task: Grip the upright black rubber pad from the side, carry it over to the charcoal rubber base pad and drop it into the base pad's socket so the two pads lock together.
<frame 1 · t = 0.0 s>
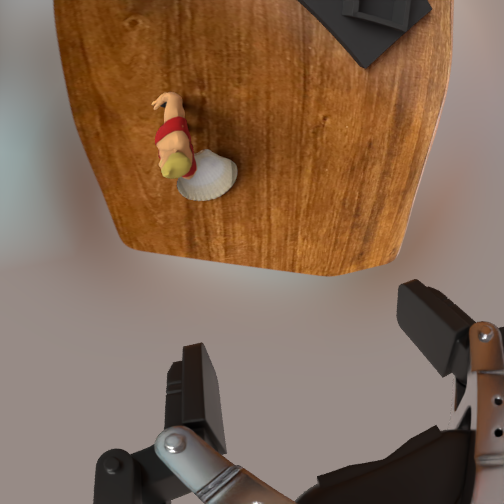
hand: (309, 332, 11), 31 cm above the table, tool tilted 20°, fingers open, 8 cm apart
action figure: (173, 116, 34), on the table
scallop shell: (205, 169, 40), on the table
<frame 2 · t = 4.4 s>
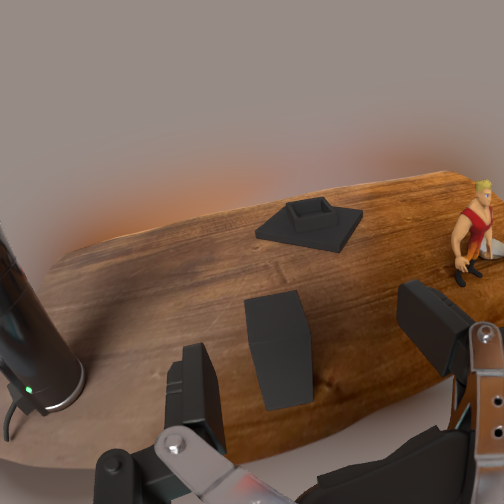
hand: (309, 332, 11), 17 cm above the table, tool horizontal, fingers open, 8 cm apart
action figure: (467, 279, 36), on the table
scallop shell: (487, 255, 39), on the table
plug pad: (285, 386, 28), on the table
socket pad: (311, 227, 56), on the table
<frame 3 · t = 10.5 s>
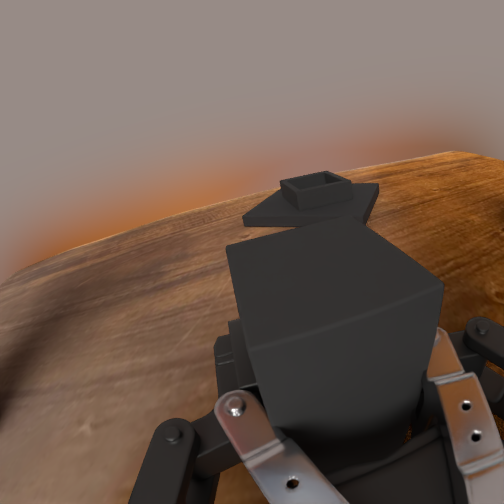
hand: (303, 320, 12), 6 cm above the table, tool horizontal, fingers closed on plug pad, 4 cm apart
plug pad: (329, 443, 12), on the table, touching gripper
socket pad: (317, 207, 42), on the table
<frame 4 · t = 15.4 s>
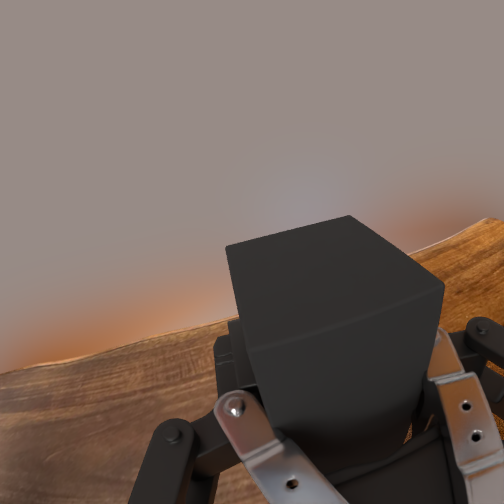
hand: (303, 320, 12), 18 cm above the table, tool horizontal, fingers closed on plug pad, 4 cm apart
plug pad: (330, 444, 12), point 12 cm above the table, touching gripper
when the fingers open (8 cm above the table, at t = 20.6 s): plug pad stays where it is, resting on socket pad.
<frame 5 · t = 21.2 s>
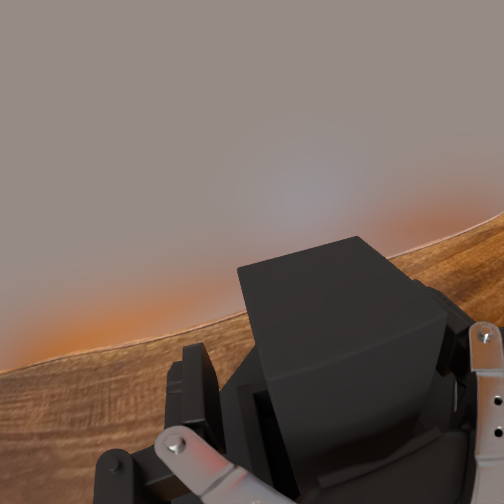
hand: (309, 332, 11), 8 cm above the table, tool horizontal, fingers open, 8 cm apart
plug pad: (335, 450, 12), point 1 cm above the table, touching socket pad
socket pad: (332, 461, 13), on the table
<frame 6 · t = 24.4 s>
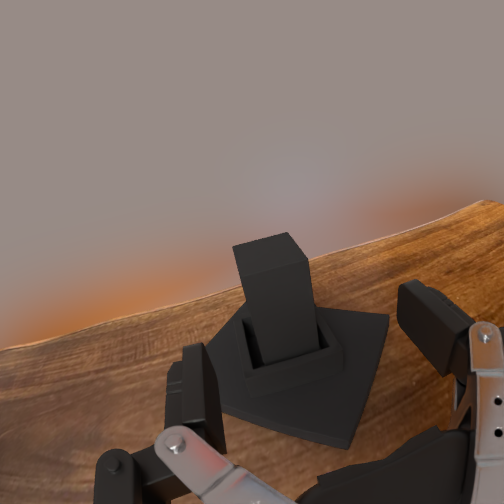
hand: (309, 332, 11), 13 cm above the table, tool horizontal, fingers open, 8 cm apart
plug pad: (287, 352, 26), point 1 cm above the table, touching socket pad
socket pad: (288, 363, 26), on the table
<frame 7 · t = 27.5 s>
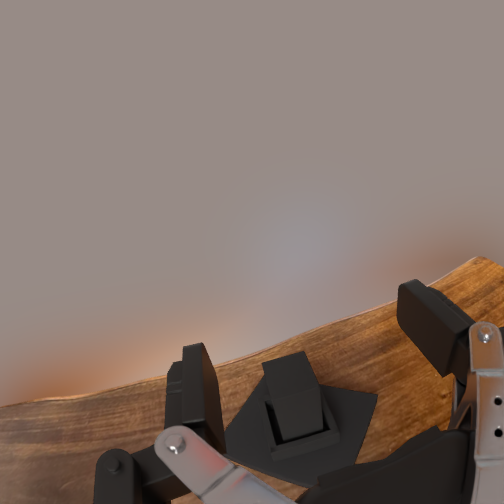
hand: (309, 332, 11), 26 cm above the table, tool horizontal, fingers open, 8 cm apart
plug pad: (299, 425, 31), point 1 cm above the table, touching socket pad
socket pad: (299, 431, 32), on the table
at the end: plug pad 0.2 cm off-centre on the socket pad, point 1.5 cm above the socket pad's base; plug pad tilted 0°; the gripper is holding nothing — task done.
